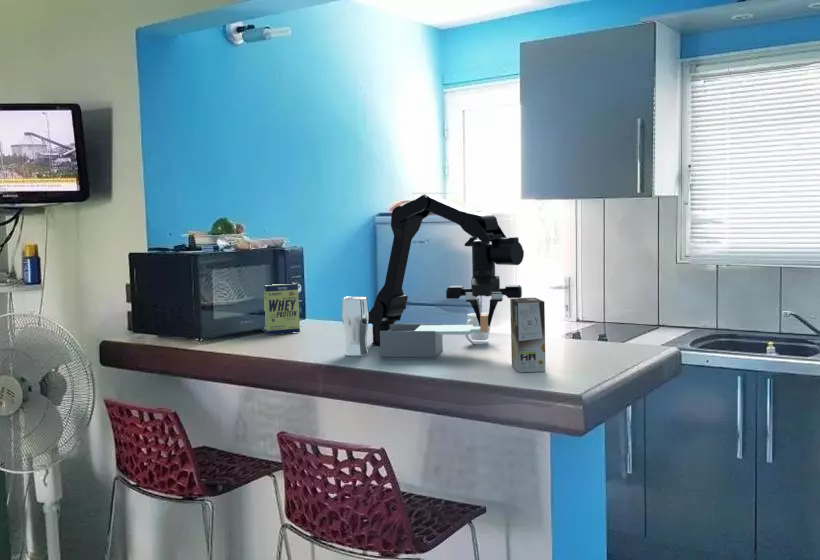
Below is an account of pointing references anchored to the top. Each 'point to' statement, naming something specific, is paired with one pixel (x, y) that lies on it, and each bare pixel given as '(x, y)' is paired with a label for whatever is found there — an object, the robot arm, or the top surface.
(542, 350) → the coffee box
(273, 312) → the protein box
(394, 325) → the tub
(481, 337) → the cup
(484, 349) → the top surface
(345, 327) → the beer glass
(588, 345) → the top surface
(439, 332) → the lid
